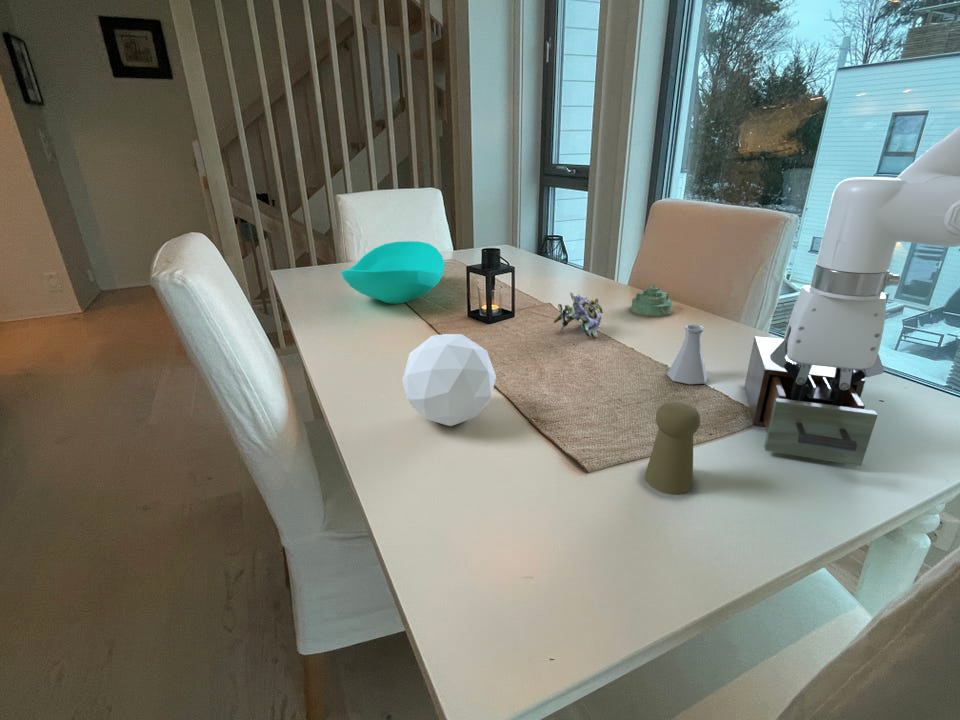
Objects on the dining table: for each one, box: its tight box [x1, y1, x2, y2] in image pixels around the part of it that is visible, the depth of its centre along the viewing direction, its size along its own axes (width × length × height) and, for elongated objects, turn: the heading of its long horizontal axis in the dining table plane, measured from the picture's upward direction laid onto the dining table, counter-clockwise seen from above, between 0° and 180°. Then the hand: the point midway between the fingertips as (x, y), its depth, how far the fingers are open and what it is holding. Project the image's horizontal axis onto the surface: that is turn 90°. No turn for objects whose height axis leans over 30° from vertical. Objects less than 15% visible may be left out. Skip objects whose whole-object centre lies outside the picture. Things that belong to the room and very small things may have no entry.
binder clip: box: [805, 375, 834, 405], centre depth 71 cm, size 5×3×4 cm, turn 159°
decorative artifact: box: [630, 283, 674, 317], centre depth 132 cm, size 10×7×10 cm
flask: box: [666, 323, 708, 385], centre depth 94 cm, size 7×7×10 cm
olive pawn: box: [644, 400, 701, 495], centre depth 65 cm, size 6×6×11 cm
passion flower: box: [553, 292, 604, 338], centre depth 117 cm, size 11×11×12 cm
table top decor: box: [340, 240, 446, 304], centre depth 145 cm, size 40×28×13 cm
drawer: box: [762, 375, 878, 467], centre depth 72 cm, size 18×11×8 cm, turn 159°
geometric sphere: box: [401, 333, 497, 427], centre depth 81 cm, size 14×15×15 cm
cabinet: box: [744, 335, 866, 428], centre depth 82 cm, size 15×13×10 cm
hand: (812, 407), depth 72 cm, fingers closed on binder clip, 3 cm apart
